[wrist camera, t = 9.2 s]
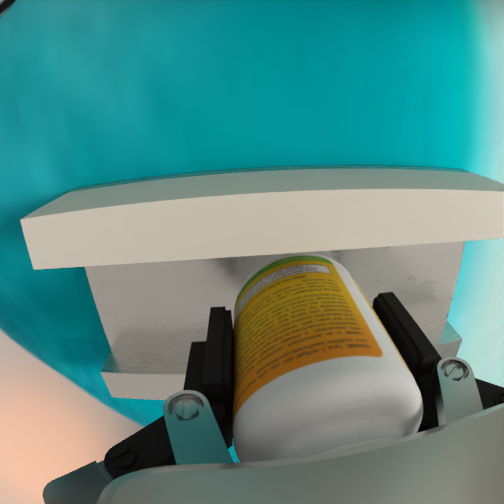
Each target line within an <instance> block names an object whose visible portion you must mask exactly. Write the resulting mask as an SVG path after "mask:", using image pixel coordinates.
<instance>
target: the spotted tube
mask: <svg viewBox="0 0 504 504" xmlns="http://www.w3.org/2000/svg"><path fill="white" fill-rule="evenodd" d="M14 1H15V0H0V17H1V16H2V15H3V14H4V13H5V12H6V11H7V9H8V8H9V7H10V6H11V5H12V4H13V2H14Z"/></svg>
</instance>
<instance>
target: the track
mask: <svg viewBox="0 0 504 504" xmlns="http://www.w3.org/2000/svg"><path fill="white" fill-rule="evenodd" d="M20 221H21V225H22V229H23V233H24V237H25V241H26V244H27V248H28V252H29V255H30V258H31V262H32V265H33V268H34V270H35V269H52V268H68V267H84V266H85V270H86V274H87V277H88V281H89V284H90V288H91V291H92V294H93V298H94V301H95V304H96V307H97V310H98V313H99V316H100V319H101V322H102V325H103V328H104V331H105V334H106V336H107V339H108V342H109V345H110V347H111V350H110V352H109V354H108V356H107V358H106V361H105V363H104V365H103V367H102V370H101V374H102V377H103V379H104V381H105V383H106V385H107V387H108V390H109V392H110V394H111V396H112V397H118V398H133V399H154V400H167V398H168V397H169V396H171V395H172V394H174V393H176V392H179V391H183V388H184V382H185V376H186V370H187V364H188V358H189V353H190V347H191V343H192V342H196V341H206V339H207V331H208V323H209V315H210V308H211V307H223V306H225V308H226V310H231V314H232V323H233V332H234V307H235V301H236V297H237V294H238V292H239V290H240V288H241V286H242V284H243V283H244V281H245V280H246V278H247V277H248V276H249V275H250V274H251V273H252V272H253V271H254V270H255V269H256V268H258V267H259V266H260V265H262V264H263V263H265V262H266V261H268V260H270V259H272V258H275V257H277V256H280V255H284V254H288V253H301V252H310V253H317V254H321V255H324V256H327V257H329V258H331V259H333V260H335V261H337V262H338V263H340V264H341V265H342V266H343V267H344V268H345V269H346V270H347V271H348V272H349V273H350V274H351V276H352V277H353V278H354V280H355V281H356V283H357V284H358V286H359V287H360V289H361V291H362V292H363V293H364V295H365V297H366V298H367V300H368V301H369V303H370V305H371V306H373V300H374V298H375V297H377V296H378V294H379V293H385V292H393V293H394V294H395V295H396V297H397V298H398V299H399V301H400V302H401V303H402V304H403V306H404V307H405V308H406V310H407V311H408V312H409V314H410V315H411V316H412V318H413V319H414V320H415V322H416V323H417V324H418V326H419V327H420V328H421V330H422V331H423V332H424V334H425V335H426V337H427V338H428V339H429V341H430V342H431V344H432V345H433V346H434V348H435V349H436V351H437V352H438V353H439V355H440V356H441V358H442V359H443V358H446V357H456V355H457V352H458V349H459V347H460V344H461V341H462V338H461V337H460V336H459V334H458V333H457V332H456V331H455V330H454V328H453V327H452V326H451V325H450V324H449V322H448V321H447V317H448V314H449V310H450V306H451V303H452V299H453V295H454V291H455V287H456V283H457V279H458V275H459V270H460V266H461V261H462V256H463V251H464V246H465V241H472V240H486V239H499V238H504V184H502V183H500V182H497V181H495V180H492V179H489V178H487V177H484V176H481V175H478V174H476V173H473V172H470V171H467V170H464V169H453V168H437V167H416V166H384V165H318V166H285V167H263V168H246V169H231V170H218V171H206V172H195V173H184V174H174V175H165V176H156V177H148V178H140V179H132V180H125V181H117V182H111V183H104V184H97V185H91V186H85V187H79V188H76V189H74V190H72V191H70V192H68V193H66V194H64V195H62V196H61V197H59V198H57V199H55V200H53V201H51V202H50V203H48V204H46V205H44V206H42V207H41V208H39V209H37V210H36V211H34V212H32V213H30V214H29V215H27V216H25V217H24V218H22V219H20Z"/></svg>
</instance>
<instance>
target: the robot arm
mask: <svg viewBox="0 0 504 504" xmlns="http://www.w3.org/2000/svg"><path fill="white" fill-rule="evenodd" d="M372 308H373V310H374V311H375V313H376V314H377V316H378V318H379V319H380V321H381V323H382V324H383V326H384V328H385V329H386V331H387V333H388V334H389V336H390V338H391V339H392V341H393V343H394V344H395V346H396V348H397V349H398V351H399V353H400V355H401V356H402V358H403V360H404V361H405V363H406V365H407V367H408V368H409V370H410V372H411V373H412V375H413V377H414V379H415V382H416V384H417V386H418V388H419V390H420V393H421V397H422V401H423V415H422V420H421V423H420V426H419V428H418V431H417V433H416V434H412V435H409V436H405V437H401V438H398V439H394V440H390V441H386V442H382V443H377V444H373V445H369V446H364V447H359V448H354V449H349V450H344V451H338V452H333V453H327V454H320V455H314V456H306V457H299V458H290V459H281V460H270V461H256V462H240V463H234V462H233V460H232V458H231V455H230V453H229V451H228V449H229V448H230V446H232V438H233V347H234V332H233V323H232V314H231V310H226V308H225V306H223V307H211V308H210V315H209V323H208V331H207V339H206V341H196V342H192V343H191V347H190V353H189V358H188V364H187V370H186V376H185V382H184V388H183V391H179V392H176V393H174V394H172V395H171V396H169V397H168V398H167V400H166V401H165V402H164V405H163V414H164V415H163V416H162V417H160V418H159V419H157V420H156V421H154V422H152V423H151V424H149V425H148V426H146V427H144V428H143V429H141V430H140V431H138V432H136V433H135V434H133V435H131V436H130V437H128V438H126V439H125V440H123V441H122V442H120V443H118V444H116V445H115V446H113V447H112V448H111V449H109V451H108V452H107V453H106V455H105V458H104V460H103V461H101V462H99V463H97V462H96V461H94V462H92V463H90V464H88V465H85V466H83V467H81V468H79V469H77V470H75V471H72V472H70V473H69V474H66V475H64V476H61V477H59V478H57V479H55V480H52V481H51V482H50V483H48V484H47V485H46V487H45V488H44V490H43V498H44V502H45V504H504V388H503V387H500V386H497V385H494V384H491V383H488V382H485V381H482V380H479V379H476V378H475V377H474V374H473V371H472V368H471V366H470V365H469V364H468V363H467V362H466V361H464V360H463V359H460V358H458V357H446V358H443V359H442V358H441V356H440V355H439V353H438V352H437V351H436V349H435V348H434V346H433V345H432V344H431V342H430V341H429V339H428V338H427V337H426V335H425V334H424V332H423V331H422V330H421V328H420V327H419V326H418V324H417V323H416V322H415V320H414V319H413V318H412V316H411V315H410V314H409V312H408V311H407V310H406V308H405V307H404V306H403V304H402V303H401V302H400V301H399V299H398V298H397V297H396V295H395V294H394V293H393V292H385V293H379V294H378V296H377V297H375V298H374V300H373V306H372Z"/></svg>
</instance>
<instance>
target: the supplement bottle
mask: <svg viewBox="0 0 504 504" xmlns="http://www.w3.org/2000/svg"><path fill="white" fill-rule="evenodd" d="M422 415H423V401H422V397H421V393H420V390H419V388H418V386H417V384H416V382H415V379H414V377H413V375H412V373H411V372H410V370H409V368H408V367H407V365H406V363H405V361H404V360H403V358H402V356H401V355H400V353H399V351H398V349H397V348H396V346H395V344H394V343H393V341H392V339H391V338H390V336H389V334H388V333H387V331H386V329H385V328H384V326H383V324H382V323H381V321H380V319H379V318H378V316H377V314H376V313H375V311H374V310H373V308H372V306H371V305H370V303H369V301H368V300H367V298H366V297H365V295H364V293H363V292H362V291H361V289H360V287H359V286H358V284H357V283H356V281H355V280H354V278H353V277H352V276H351V274H350V273H349V272H348V271H347V270H346V269H345V268H344V267H343V266H342V265H341V264H340V263H338V262H337V261H335V260H333V259H331V258H329V257H327V256H324V255H321V254H317V253H310V252H301V253H288V254H284V255H280V256H277V257H275V258H272V259H270V260H268V261H266V262H265V263H263V264H262V265H260V266H259V267H258V268H256V269H255V270H254V271H253V272H252V273H251V274H250V275H249V276H248V277H247V278H246V280H245V281H244V283H243V284H242V286H241V288H240V290H239V292H238V294H237V297H236V301H235V307H234V347H233V442H234V448H235V452H236V454H237V457H238V459H239V461H240V462H256V461H270V460H281V459H290V458H299V457H306V456H314V455H320V454H327V453H333V452H338V451H344V450H349V449H354V448H359V447H364V446H369V445H373V444H377V443H382V442H386V441H390V440H394V439H398V438H401V437H405V436H409V435H412V434H416V433H417V431H418V428H419V426H420V423H421V420H422Z"/></svg>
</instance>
